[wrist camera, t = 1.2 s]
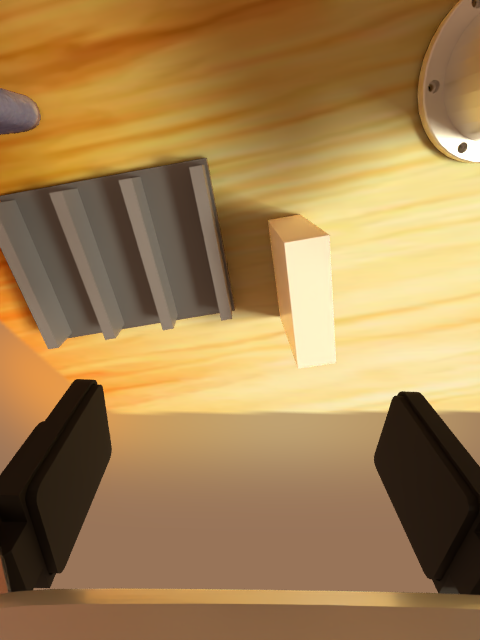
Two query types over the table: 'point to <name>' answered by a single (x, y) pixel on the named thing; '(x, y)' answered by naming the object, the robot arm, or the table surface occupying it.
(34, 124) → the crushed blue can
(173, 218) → the rack
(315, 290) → the beige square block
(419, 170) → the table surface
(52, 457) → the robot arm
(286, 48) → the table surface
